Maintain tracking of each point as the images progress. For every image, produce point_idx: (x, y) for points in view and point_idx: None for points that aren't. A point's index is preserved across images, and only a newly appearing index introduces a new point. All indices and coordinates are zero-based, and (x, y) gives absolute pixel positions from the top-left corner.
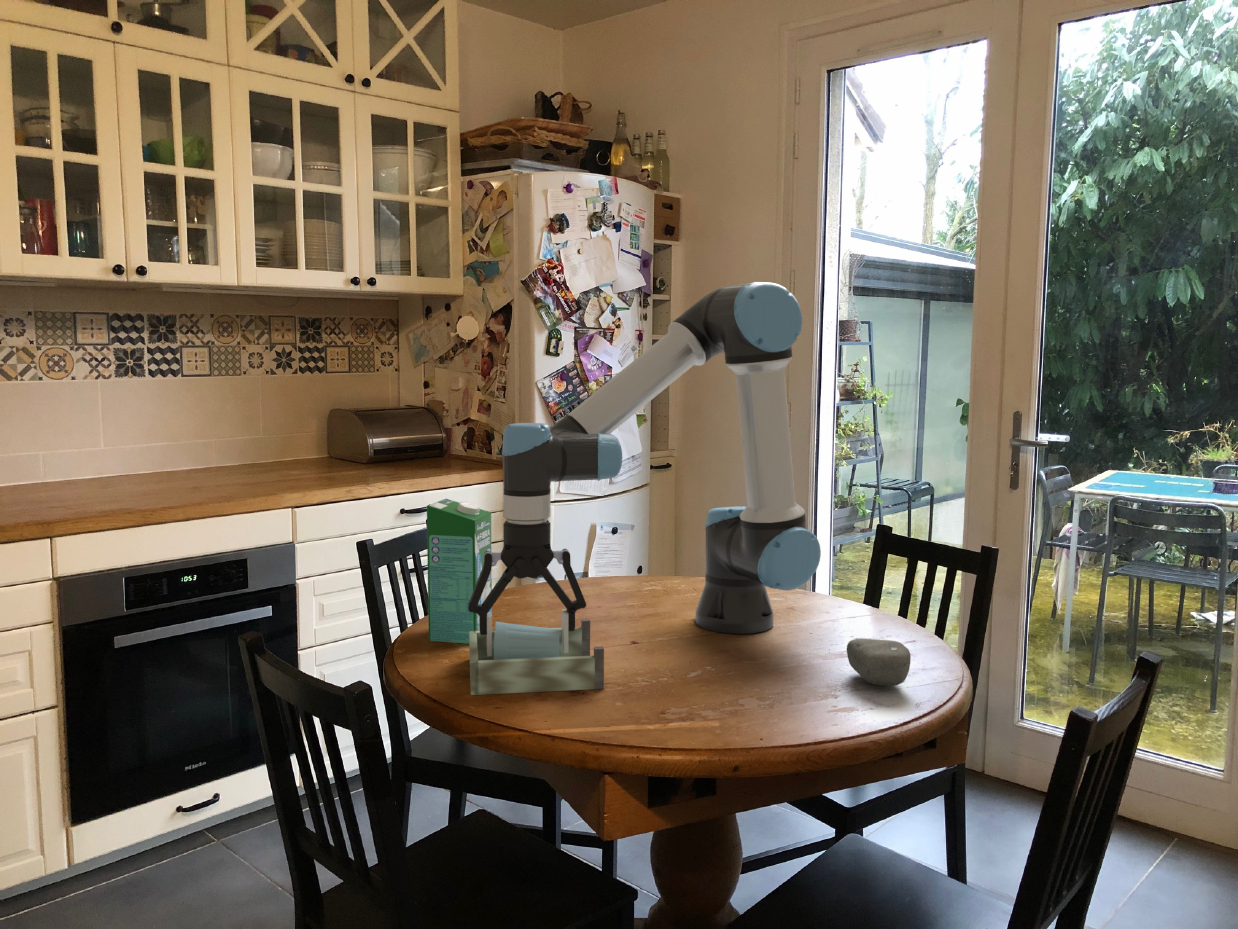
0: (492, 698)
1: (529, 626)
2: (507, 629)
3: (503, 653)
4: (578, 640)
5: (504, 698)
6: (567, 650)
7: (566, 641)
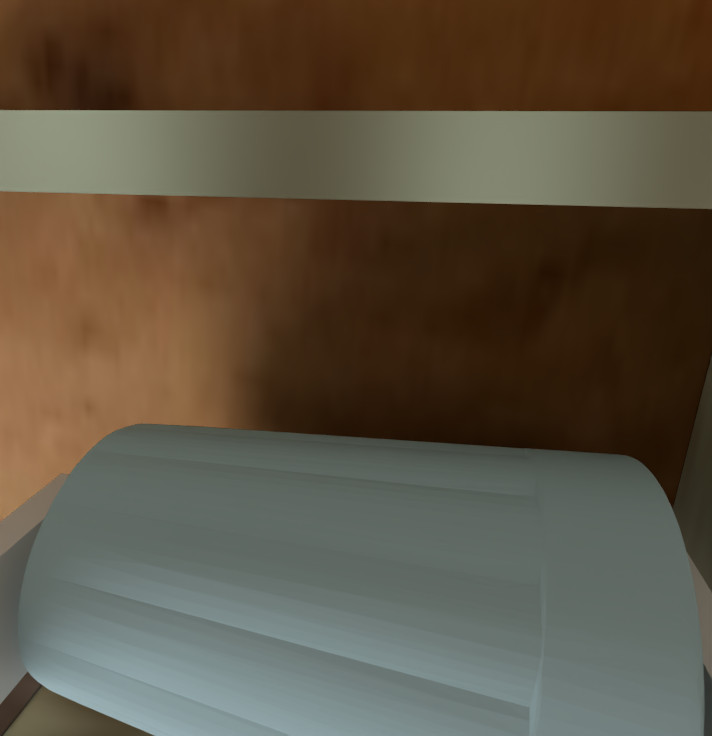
0: (678, 37)
1: None
2: (533, 724)
3: (565, 470)
4: (44, 710)
5: (586, 25)
6: (56, 483)
7: (12, 525)
